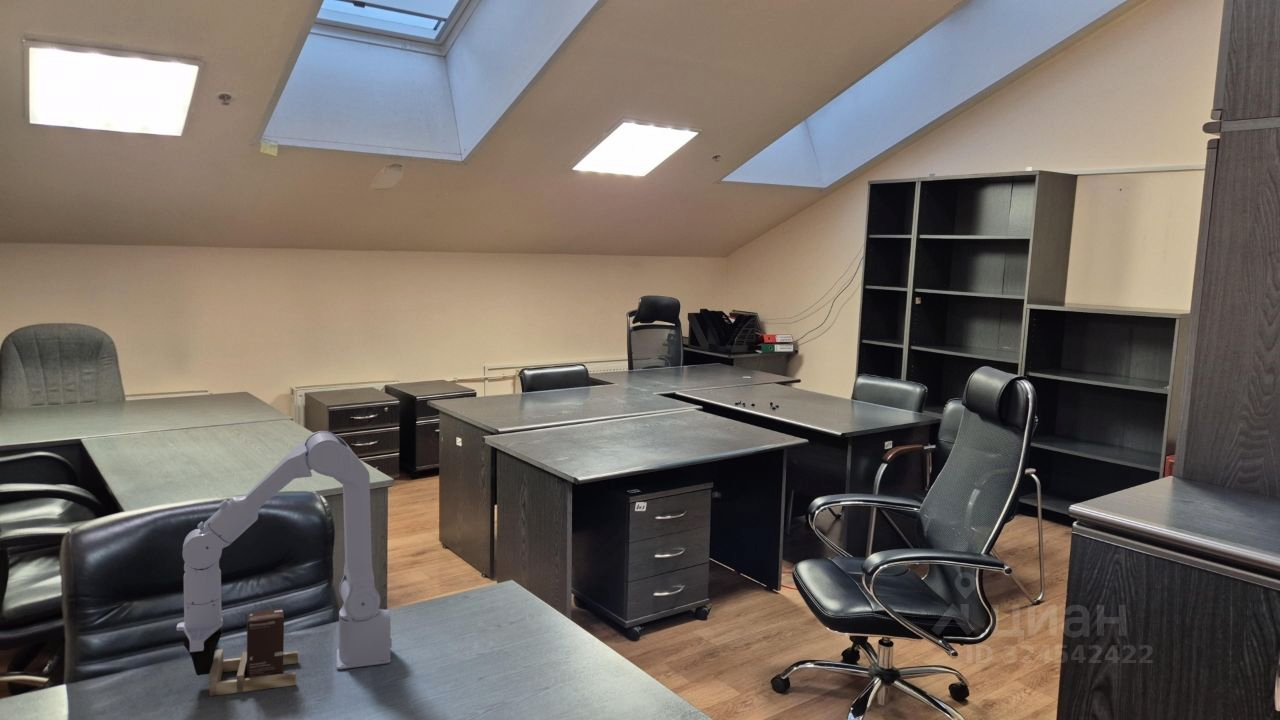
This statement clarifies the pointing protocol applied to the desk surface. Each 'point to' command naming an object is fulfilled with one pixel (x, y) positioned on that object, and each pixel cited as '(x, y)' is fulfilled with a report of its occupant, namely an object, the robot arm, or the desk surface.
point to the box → (265, 642)
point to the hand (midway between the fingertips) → (203, 672)
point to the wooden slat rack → (242, 681)
